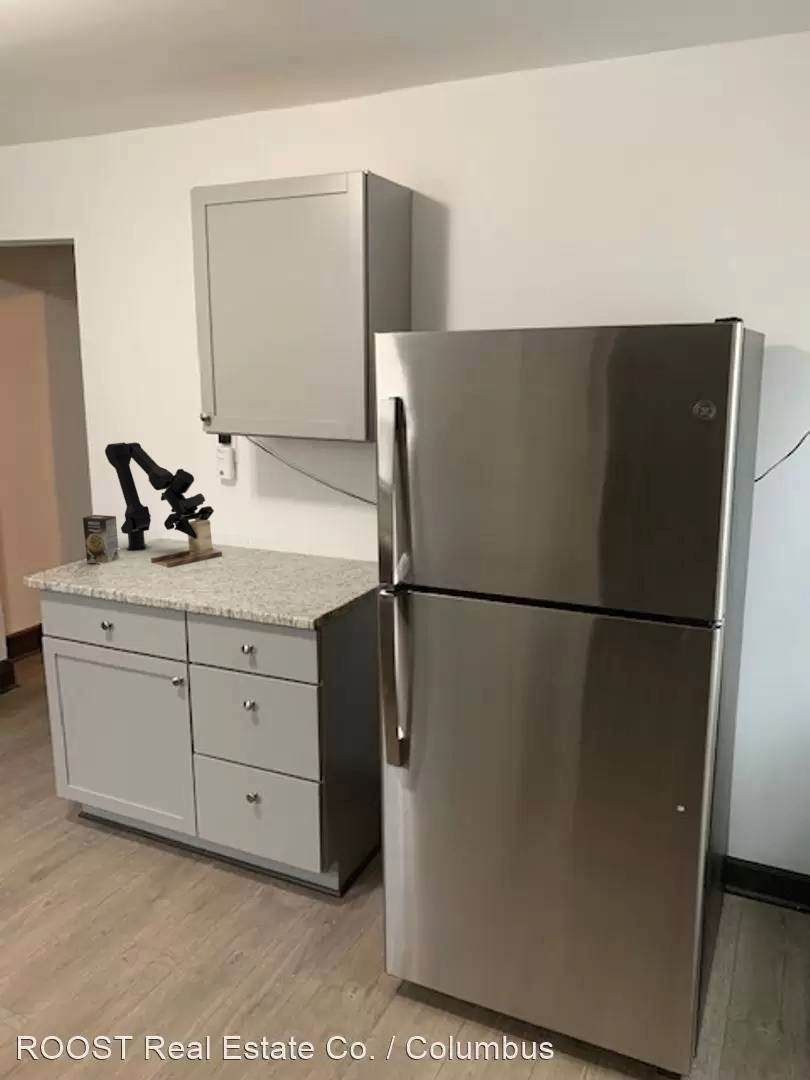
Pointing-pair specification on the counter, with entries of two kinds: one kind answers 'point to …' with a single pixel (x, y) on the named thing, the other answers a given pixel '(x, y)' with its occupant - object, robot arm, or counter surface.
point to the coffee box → (101, 538)
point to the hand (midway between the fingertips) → (202, 536)
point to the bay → (182, 558)
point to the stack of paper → (200, 538)
